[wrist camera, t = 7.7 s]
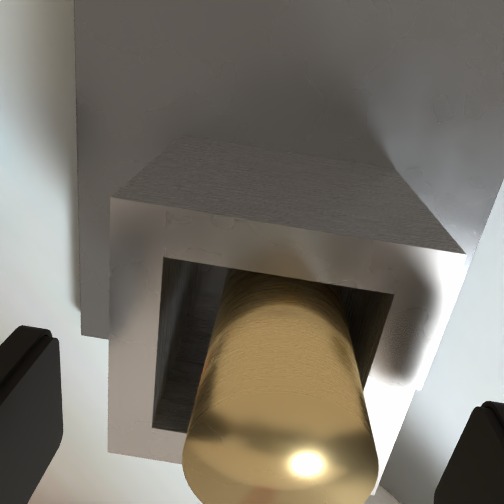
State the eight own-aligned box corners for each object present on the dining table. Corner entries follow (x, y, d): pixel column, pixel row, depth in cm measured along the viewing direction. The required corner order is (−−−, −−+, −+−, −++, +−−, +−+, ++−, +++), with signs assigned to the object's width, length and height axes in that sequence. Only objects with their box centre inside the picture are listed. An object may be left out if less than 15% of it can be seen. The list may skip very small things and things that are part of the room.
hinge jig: (616, -158, 13) (1053, -422, 5) (414, 374, 21) (483, 553, 14) (83, -242, 13) (-185, -613, 5) (90, 322, 21) (-16, 472, 14)
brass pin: (340, 215, 17) (407, 416, 8) (315, 298, 18) (345, 548, 9) (244, 194, 17) (198, 373, 8) (227, 279, 18) (170, 513, 9)
